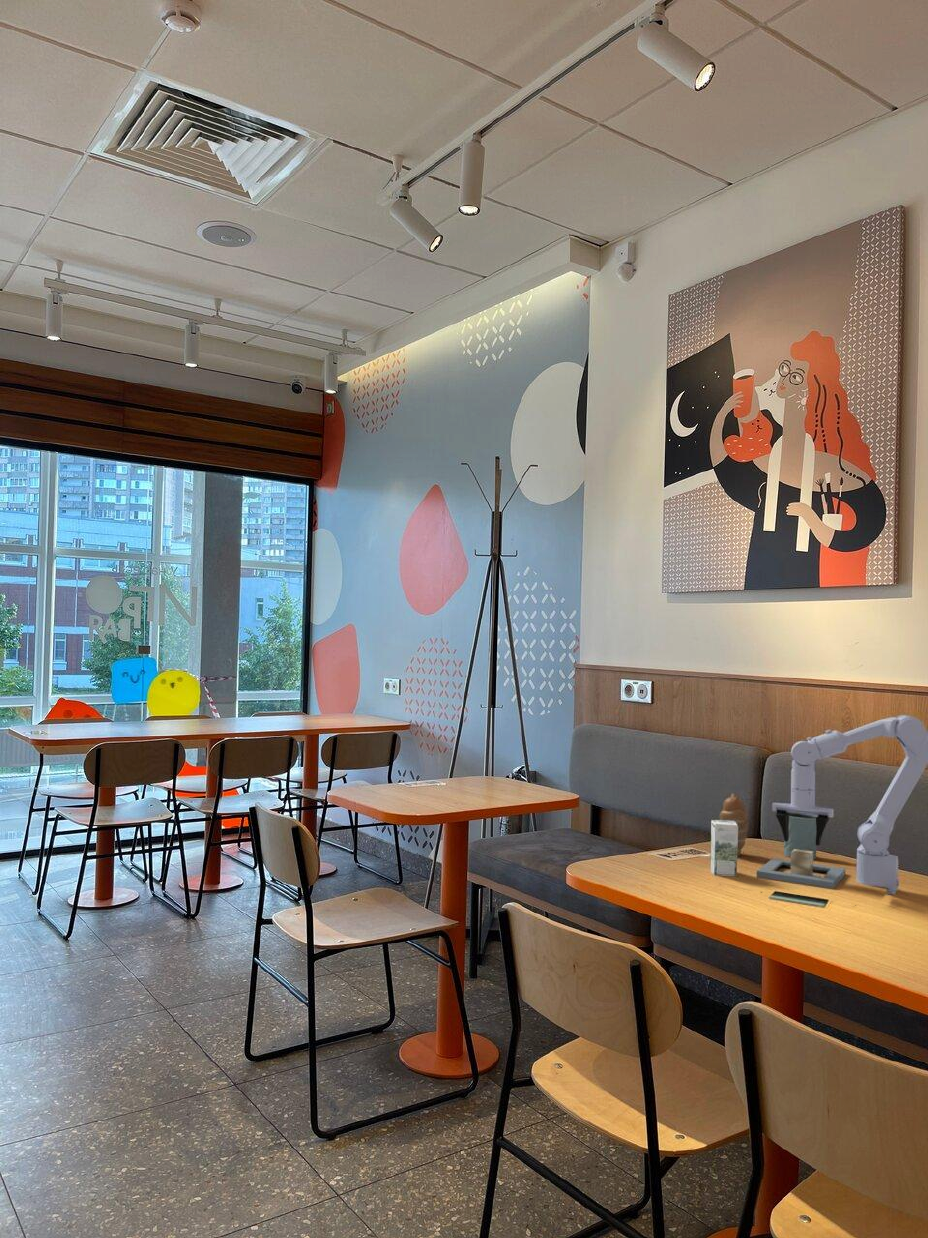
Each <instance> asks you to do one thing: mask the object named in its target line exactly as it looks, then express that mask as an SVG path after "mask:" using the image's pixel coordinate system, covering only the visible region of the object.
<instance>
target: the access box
mask: <svg viewBox="0 0 928 1238" xmlns="http://www.w3.org/2000/svg"><path fill="white" fill-rule="evenodd" d="M780 867H786V868H791V859H790V860H789V859H783V858H777V857H776V858H774V857H773V858H771V859H770V860H768V861H767V862H766V863H765V864H763V866H761V867H760V868H759V869H757V870H756V878H759V879H765V880H773V881H777V882H778V881H779V882H785V883H791V884H799V885H805V886H812V887H817V888H825V889H831V890H834V889H835V888H836V886H837V885H838V884H839V883H840V882H841V880H842V879H843V878H844V877H845V875H846V867H840V866H832V865H823V864H817V863H813V872H820V873H826V874H824V876H823V877H821V876H822V875H821V874H815V873H813V875H812V876H805V875H798V874H791V873H790V870H791V869H790V870H789V869H788V870H787V871H786V872H784V871H779V870H778V871H777V869H778V868H780Z"/></svg>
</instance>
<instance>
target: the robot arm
mask: <svg viewBox="0 0 928 1238" xmlns="http://www.w3.org/2000/svg"><path fill="white" fill-rule="evenodd" d="M878 737H886V738H892V739H895V738H896V739H897V741H898V742H900V745H901V746H902V749H903V752H904V754H905V758H904V759H903V762H902V763H901V765H900V766H899V768H898V770H897V772H896V774H895V776H894V777H893V779H892V781H891V782H890V785H889V786H888V788H887V790H886V791H885V793H884V794H883V797H882V799H881V800H880V802H879V804H878V805H877V807H876V809H875V810H874V811H873V812H872V814H871V815H870V816H869V818H868V819H867V821H865V822H864V823H862V824H861V825H859V827H858V829H857V834H856V836H857V838H858V841H859V842H860V845H859V846H858V847H857V849H856V882H857V883H859V884H862V885H863V886H864V885H865V886H868V887H869V886H870V887H879V888H880V887H881V888H887V890H886V891H885V894H886V895H887V894H888V895H896V893H897V891H898V890H899V884H900V883H899V882H900V881H899V858H898V856H897V855H893V854H890V853H889V849H888V848H889V846H890V836H891V834H892V832H893V830H894V826H895V822H896V820H897V818H898V816H900V813H901V811H902V810H903V808H904V806H905V804H906V803H907V800H908V799H909V797H910V796H911V793H912V792H913V790H914V789H915V787H916V785H917V783H918V782H919V780H920V778H921V776H922V774H923V772H924V771H925V769H926V767H927V765H928V730H927V729H926V727H925V725H924V723H923V722H922V721H921V720H920V719H918V718H917V717H914V716H912V715H909V714H900V715H898V716H895V717H894V716H893V717H886V718H882V719H879V720H876V721H873V722H870V723H868V724H865V725H862V726H859V727H856V728H854V729H851V730H849V731H845V732H843V733H842V732H841V731H839V730H837V729H836V730H831V729H828V730H825V733H822V734H821V735H818V736H817V735H816V736H814V737H811V736H809V737H807V738H806V740H807V741H806V740H805V741H804V740H800V741H797V742H795V743H794V744H793V745H792V747H791V750H790V756H791V757H792V761H791V770H790V773H791V774H790V775H791V776H790V803H784V802H773V803H772V804H771V805H772V806H771V807H772V808H771V809H772V810H771V811H772V812H776V813H775V816H776V818H777V820H778V822H779V825H780V828H781V831H782V836H783V838H784V839H783V842H784V841H788V840H789V814H790V813H799V814H808V815H817V816H818V817H816V845H817V846H820V845H821V842H822V837H823V834H824V831H825V828H826V826H827V824H828V822H829V820H830V818H834V815H835V814H834V813H835V812H834V811H835V810H834V808H828V807H821V806H818V805H817V806H816V799H815V798H816V771H815V762H816V760H823V759H826V758H829V757H832V756H836V755H839V754H842V753H845V752H846V750H847V748H848V746H850V745H853V744H857V743H861V742H863V741H867V740H870V739H873V738H874V739H875V738H878Z"/></svg>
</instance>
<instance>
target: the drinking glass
mask: <svg viewBox="0 0 928 1238" xmlns="http://www.w3.org/2000/svg"><path fill="white" fill-rule="evenodd" d="M816 817H818V816H817V815H808V814H799V813H790V814H789V840H788V841H784V837H783V856H784V857H785V858H788V859H789V858H790V859H791V852H792V851H793V850H794V849H798V850H805V851H813V861H814V859H815V860H816V858H817V851H818V850H817V849H818V847H817V846H818V845H816Z"/></svg>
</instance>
